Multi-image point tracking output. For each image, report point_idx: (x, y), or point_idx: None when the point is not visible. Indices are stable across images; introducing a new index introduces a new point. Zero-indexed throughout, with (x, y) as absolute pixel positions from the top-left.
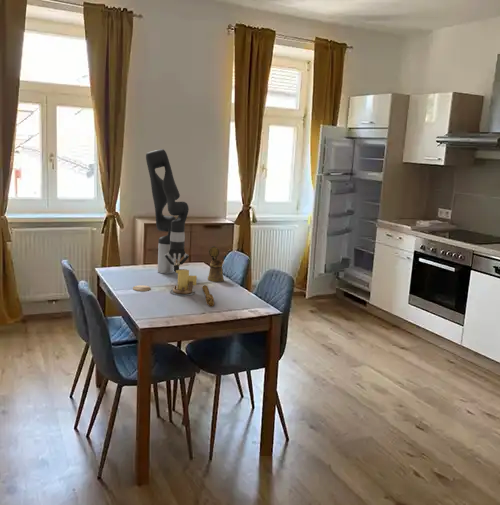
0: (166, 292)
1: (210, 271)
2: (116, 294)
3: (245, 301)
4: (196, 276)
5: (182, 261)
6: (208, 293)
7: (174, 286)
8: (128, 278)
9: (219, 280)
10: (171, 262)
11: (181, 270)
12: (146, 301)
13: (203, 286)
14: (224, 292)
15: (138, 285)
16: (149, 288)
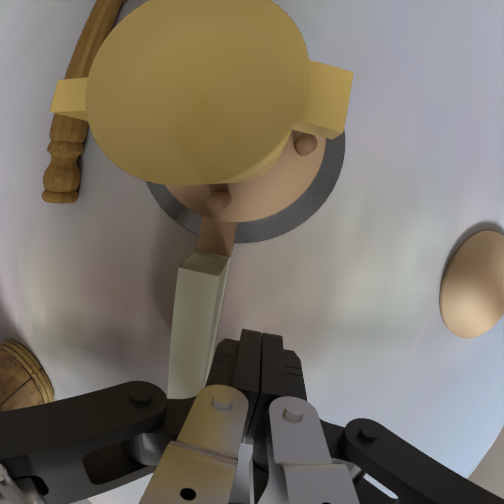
0: (369, 161)
1: (18, 403)
2: None
3: (7, 13)
4: (61, 81)
5: (106, 424)
6: (95, 8)
7: (316, 144)
8: (435, 452)
9: (5, 342)
10: (377, 446)
11: (236, 53)
12: (485, 35)
13: (62, 177)
14: (4, 137)
15: (479, 334)
16: (458, 261)
